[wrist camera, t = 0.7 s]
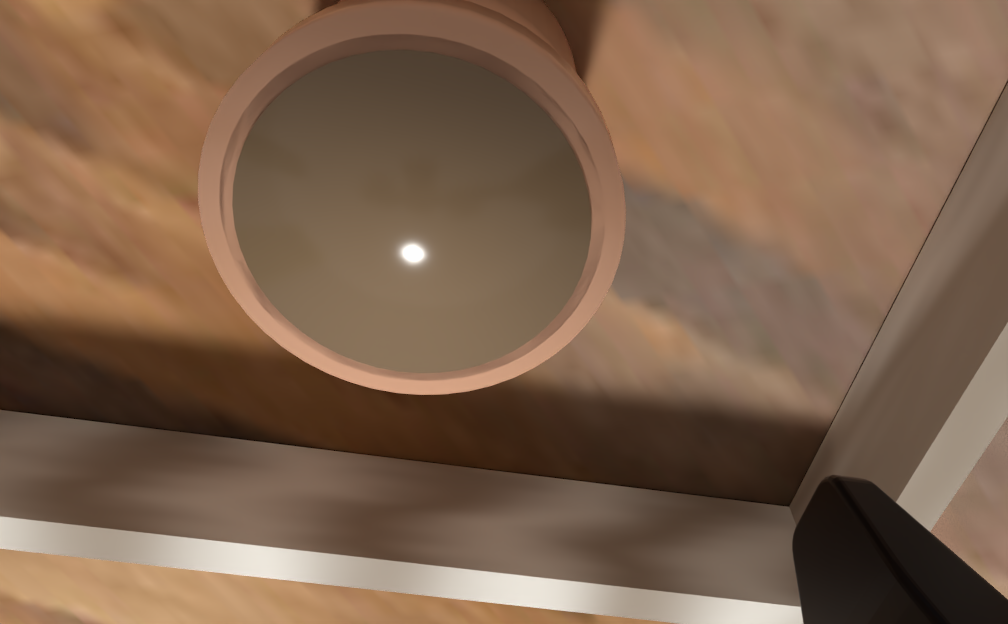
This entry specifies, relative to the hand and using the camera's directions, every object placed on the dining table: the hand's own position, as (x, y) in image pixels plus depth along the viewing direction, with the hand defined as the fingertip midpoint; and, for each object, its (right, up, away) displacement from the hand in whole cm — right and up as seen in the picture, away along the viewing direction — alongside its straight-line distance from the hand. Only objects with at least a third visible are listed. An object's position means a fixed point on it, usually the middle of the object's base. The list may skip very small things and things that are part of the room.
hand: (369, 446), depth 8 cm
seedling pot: (0, +6, +9) cm, 11 cm away
